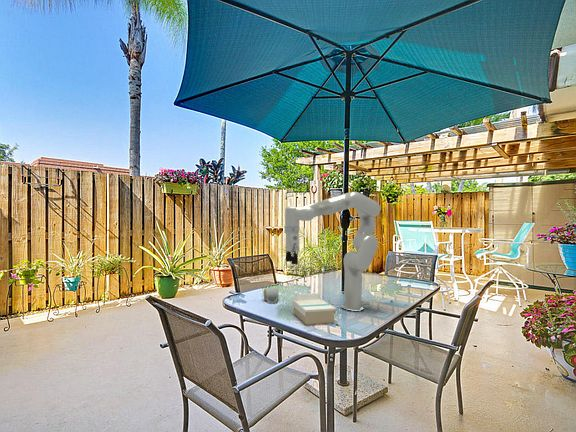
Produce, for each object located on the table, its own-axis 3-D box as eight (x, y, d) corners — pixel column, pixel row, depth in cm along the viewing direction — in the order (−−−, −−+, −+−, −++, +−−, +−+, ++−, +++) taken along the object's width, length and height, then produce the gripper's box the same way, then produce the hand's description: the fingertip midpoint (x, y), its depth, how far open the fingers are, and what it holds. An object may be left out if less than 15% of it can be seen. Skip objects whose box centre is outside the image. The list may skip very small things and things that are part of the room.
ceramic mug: (263, 299, 184) (263, 286, 184) (276, 298, 185) (276, 286, 185) (265, 304, 173) (266, 290, 173) (280, 303, 175) (280, 290, 175)
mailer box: (318, 312, 161) (319, 300, 161) (333, 323, 144) (334, 310, 144) (293, 313, 157) (294, 301, 157) (306, 325, 139) (306, 312, 139)
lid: (320, 304, 161) (320, 292, 161) (335, 314, 143) (336, 301, 144) (292, 305, 157) (292, 293, 157) (305, 316, 139) (305, 303, 139)
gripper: (304, 230, 153) (304, 264, 153) (293, 229, 170) (292, 260, 170) (290, 230, 151) (289, 265, 151) (280, 229, 168) (280, 260, 167)
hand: (291, 262), depth 160 cm, fingers open, 9 cm apart
